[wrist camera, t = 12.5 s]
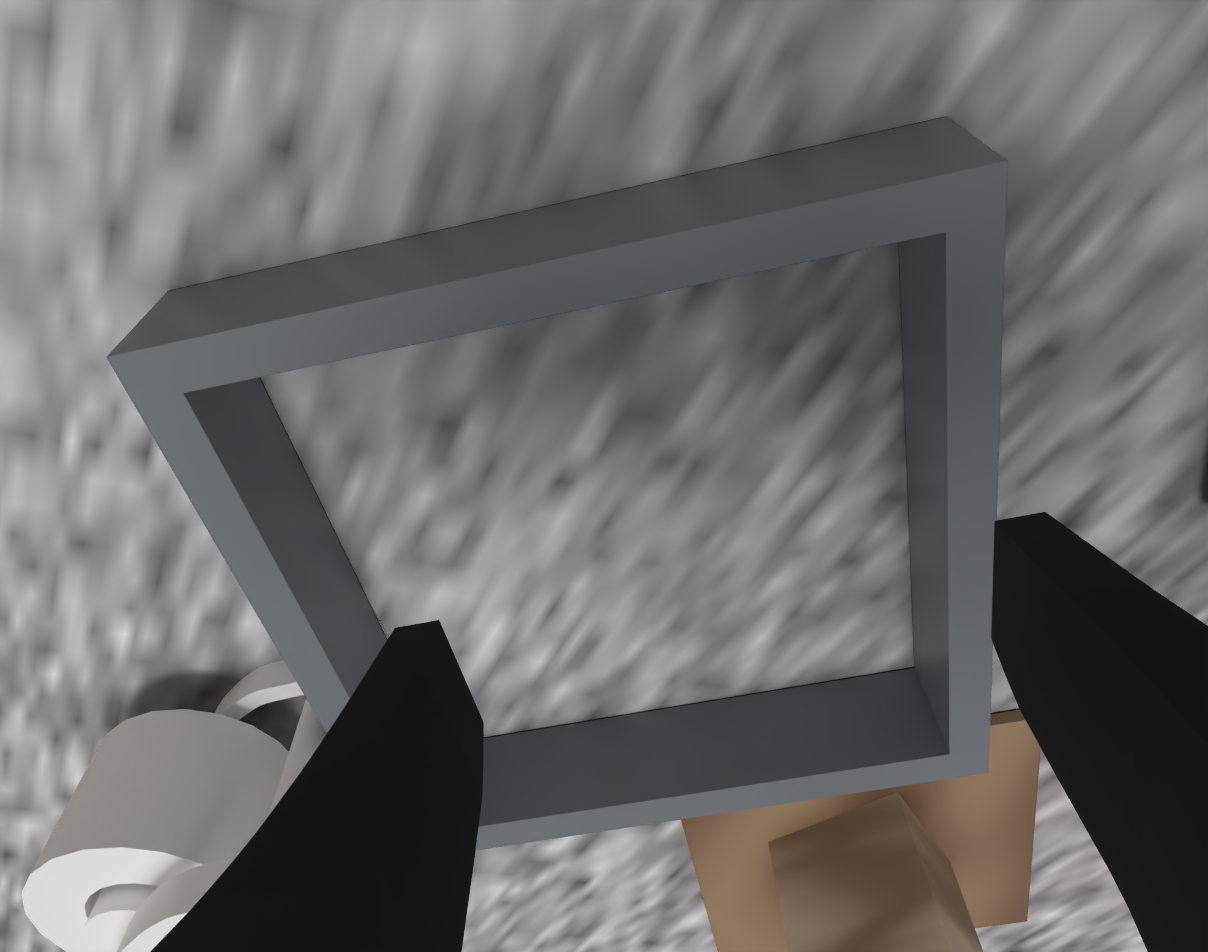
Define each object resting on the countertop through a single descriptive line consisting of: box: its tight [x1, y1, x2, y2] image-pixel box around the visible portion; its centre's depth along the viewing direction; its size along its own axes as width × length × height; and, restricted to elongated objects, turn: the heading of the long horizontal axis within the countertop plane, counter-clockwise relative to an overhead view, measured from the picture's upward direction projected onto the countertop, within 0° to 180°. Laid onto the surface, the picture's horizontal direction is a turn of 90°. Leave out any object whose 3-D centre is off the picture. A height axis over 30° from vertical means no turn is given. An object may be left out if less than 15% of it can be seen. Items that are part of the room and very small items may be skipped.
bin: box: [107, 117, 1008, 850], centre depth 22 cm, size 16×16×3 cm
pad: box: [681, 710, 1041, 952], centre depth 30 cm, size 11×11×1 cm
